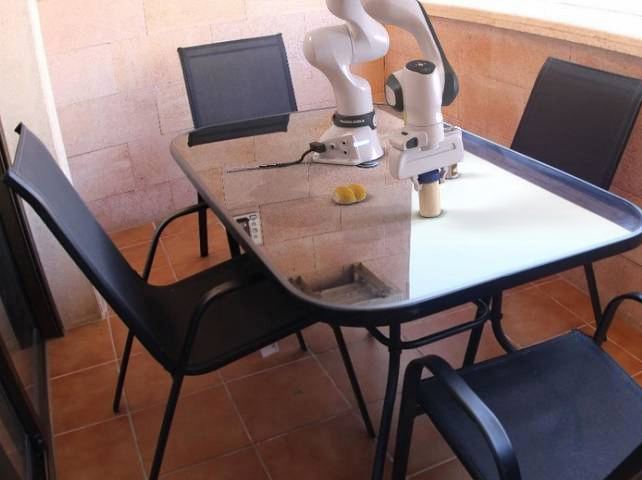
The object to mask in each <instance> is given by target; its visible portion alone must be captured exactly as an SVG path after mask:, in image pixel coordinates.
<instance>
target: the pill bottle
mask: <svg viewBox="0 0 642 480" xmlns="http://www.w3.org/2000/svg"><path fill="white" fill-rule="evenodd" d="M458 171H459V170H458V163H456V164H453V165H449V166H448V171H447V174H446V176H445V179H455V178H457V177H458V175H459V174H458Z"/></svg>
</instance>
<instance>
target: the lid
mask: <svg viewBox="0 0 642 480" xmlns="http://www.w3.org/2000/svg"><path fill="white" fill-rule="evenodd" d="M439 178H440V168H439V169H436V170H432V171H429V172H426V173H422V174H419V175H418V179H416V180H417V181H419V182H423V183H430V182H435V181H437V180H439Z"/></svg>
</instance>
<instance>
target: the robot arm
mask: <svg viewBox="0 0 642 480" xmlns="http://www.w3.org/2000/svg"><path fill="white" fill-rule="evenodd" d="M325 4H326V7H327V9H328V11H329V12H330V14H332V15H333V16H335V17H336V18H338V19H340V20H342V21H345V23H342V24H339V25H338V24H337V25H330V26H322V27H318V28H315V29H312V30H310V31H307V32H306V33H305V35H304V37H303V40H302V52H303V55H304V58H305V59H306V61H307V62H308V63H309V64H310V65H311V66H312V67H314V68H316V69H317V70H319V71H320V72H321V73H322V74H323V75H324V76H325V77H326V79H327V80H328V81H329V83H330V86H331V88H332V90H333V91H332V92H333V95H334V99H335V104H336V110H334V113H333V114H332V115H331V117H330V119H331V122H332V123H333V124H332V125H331V126H330V127H328V129H327V130H326V131H325V132H324V133H323V134H322V135H321V136H320V137H319V140H318V141H312V142H309V143H308V144H309V149H307V150H306V151H304V152H303V153H302V154H301V156H300V158H299V159H298V160H295V161H291V162H279V164H278V163H275V164H276V165H268V164H266V165H267V166H259V167H260V168H259V169H267V168H269V169H270V168H278V167H279V168H280V167H288V166H293V165H298V164H300V163H302V162H303V161H304V159H305V158H306V156H307V155H309V154H310V153H312V152H313V155H312V162H314V163H324V164H334V165H335V164H336V165H345V166H346V165H347V166H357V165H360V164H362V163H366V162H371V161H374V160H377V159H379V158H381V157H383V155H384V150H383V147H382V145H381V142H380V138H379V134H378V129H377V126H378V125H377V124H378V122H377V115H376V110H375V108H374V102H373V96H372V95H373V94H372V87H371V85H370V83H369V81H368V80H367V79H365V77H362V76H359V75H357V74H353V73H351V70H350V66H351V65H357V64H361V63H371V62H373V61H376V60H379V59H381V58H383V57H385V56H386V55H387V54H388V51H389V49H390V36H389V33H388V31H387V29H386V28H385V26H384V25H389V26H393V27H396V28H399V29H402V30H405V32H408V33H409V34H410V35H412V36H413V37H414V39H415V41H416V43H417V45H418V47H419V50H420V52H421V54H422V56H423V58H424V59H414V60H410V61H408V62H406V63H405V65H404V66H403V68H402V69H401V70H397V71H394V72H392V73H390V74H389V75H388V76H387V78H386V80H385V82H384V86H383V88H384V97H385V102H386V105H387V106H388V107H390V108H391V110H394V111H395V112H397V113H404V112H405V113H406V114H407V120H406V124H407V125H405V126H404V125H403V127H401V128H400V129H399V130H397V131H396V132H394V133H393V134H391V135H390V136H389V137H388V142H389V145H391V147H390V148H389V151H388V170H389V174H390V176H392V177H393V178H395V179H396V180H398V181H402V180H405V179H409V180H410V181H411V182H412V184H413V189H414V191H415V192H418V191H421V190H423V188H422V183H420V182H418V181H417V179H418V175H419V174H422V173H426V172H429V171H432V170H436V169H439V172H440V178H439V185H444V184H445V183H446V178H445V176H446V174H447V171H448V166H449V165H453V164H456V163H457V164H460V163H462V162H463V161H464V159H465V149H464V143H463V140H462V137H463V135H462V134H463V132H462V128H461V127H460V126H458V125H455V124H453V125H450V126H445V125H444V117H443V114H442V107H443V108H444V107H449V106H451V105H452V104H453V102H454V101H455V100H456V99H457V97H458V94H459V91H460V83H459V78H458V76H457V73H456V71H455V70H454V68H453V66H452V65H451V63H450V62H449V60H448V58H447V56H446V53H445V51H444V49H443V46H442V44H441V41H440V40H439V38H438V35H437V33H436V31H435V28H434V27H433V24H432V21H431V20H430V17H429V15H428V13H427V11H426V9H425V7H424V5H423V4H422V2H421V1H420V0H325ZM383 24H384V25H383ZM444 126H445V127H444ZM280 163H281V164H280Z"/></svg>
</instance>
